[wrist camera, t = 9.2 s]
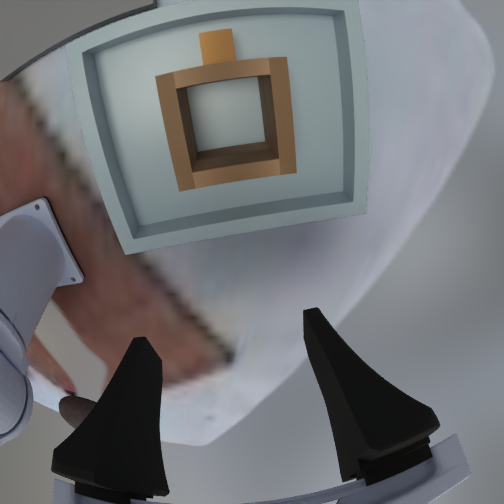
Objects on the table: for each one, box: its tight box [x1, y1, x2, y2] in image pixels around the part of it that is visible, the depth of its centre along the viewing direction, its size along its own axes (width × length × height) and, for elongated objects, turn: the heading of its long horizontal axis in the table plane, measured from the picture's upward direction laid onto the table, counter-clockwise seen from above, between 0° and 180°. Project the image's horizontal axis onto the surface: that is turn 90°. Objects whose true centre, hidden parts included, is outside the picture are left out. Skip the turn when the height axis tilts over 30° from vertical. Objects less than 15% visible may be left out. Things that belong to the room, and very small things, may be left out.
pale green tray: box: [65, 0, 369, 255], centre depth 14 cm, size 16×14×2 cm
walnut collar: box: [155, 28, 297, 192], centre depth 12 cm, size 6×8×4 cm
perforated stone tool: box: [59, 396, 97, 429], centre depth 32 cm, size 15×5×7 cm, turn 51°
